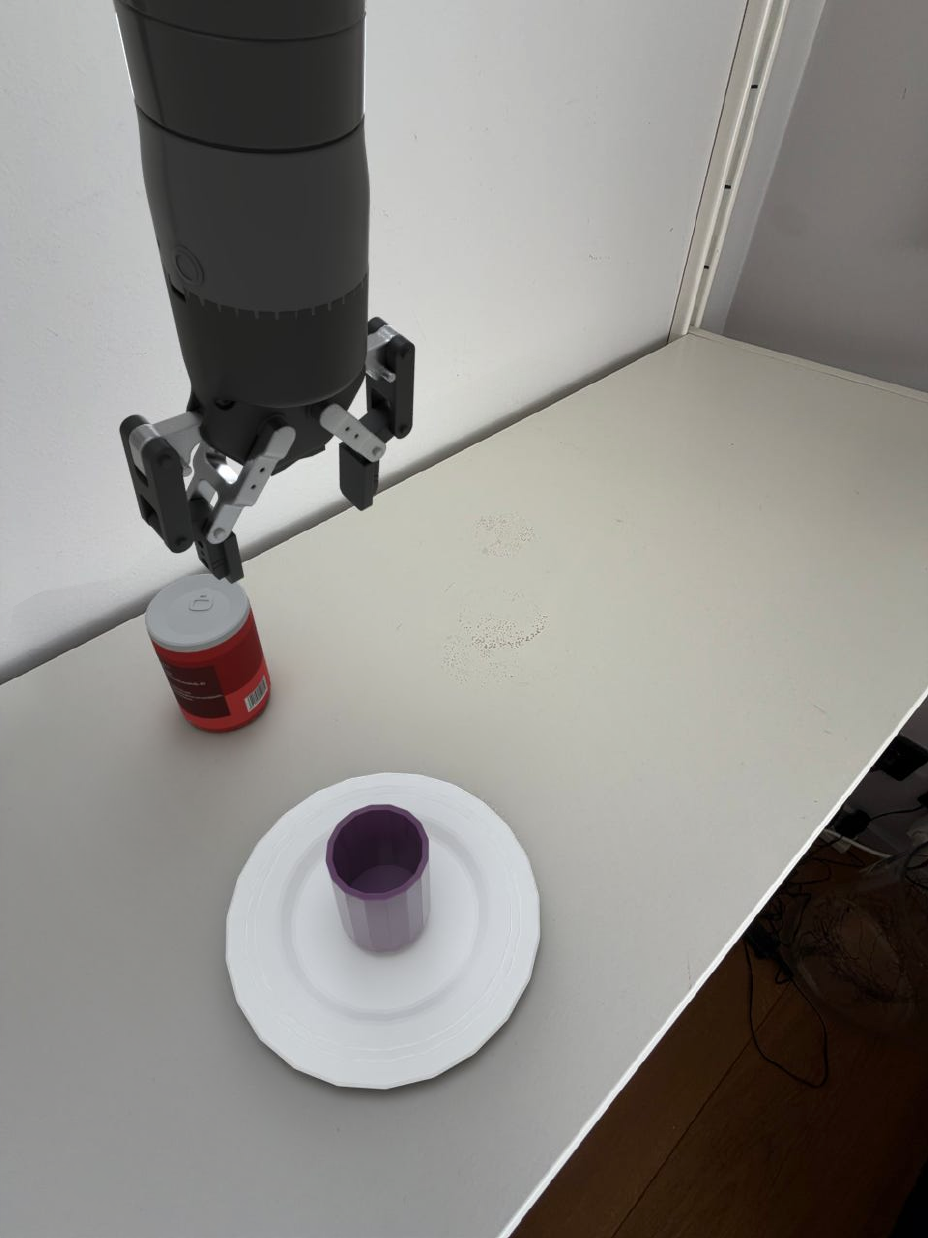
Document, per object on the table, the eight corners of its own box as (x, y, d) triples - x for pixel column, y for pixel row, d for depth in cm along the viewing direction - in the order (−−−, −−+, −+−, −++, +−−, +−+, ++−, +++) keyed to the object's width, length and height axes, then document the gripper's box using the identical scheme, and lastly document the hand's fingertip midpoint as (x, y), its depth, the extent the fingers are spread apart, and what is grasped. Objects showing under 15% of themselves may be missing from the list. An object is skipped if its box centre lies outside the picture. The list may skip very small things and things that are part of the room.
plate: (517, 1133, 40) (520, 1127, 39) (173, 1054, 43) (165, 1046, 41) (552, 809, 55) (555, 796, 53) (294, 764, 57) (290, 750, 56)
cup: (356, 969, 44) (344, 918, 39) (328, 884, 48) (313, 825, 43) (444, 929, 46) (444, 875, 41) (410, 850, 50) (406, 790, 44)
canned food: (267, 655, 65) (243, 564, 57) (278, 723, 60) (254, 633, 52) (179, 673, 63) (143, 582, 56) (183, 745, 58) (143, 656, 50)
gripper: (356, 158, 31) (354, 444, 44) (22, 246, 24) (139, 552, 37) (475, 240, 28) (434, 518, 41) (138, 364, 21) (219, 647, 35)
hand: (294, 534), depth 39 cm, fingers open, 8 cm apart
